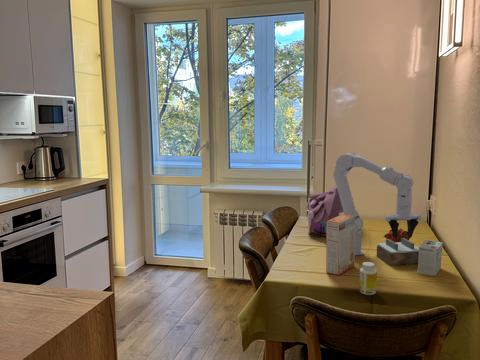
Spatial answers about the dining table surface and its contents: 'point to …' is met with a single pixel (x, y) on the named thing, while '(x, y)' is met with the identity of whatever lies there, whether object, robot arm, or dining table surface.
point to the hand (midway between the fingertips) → (402, 237)
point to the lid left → (391, 247)
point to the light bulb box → (430, 257)
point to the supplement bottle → (368, 278)
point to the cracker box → (340, 244)
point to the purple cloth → (323, 210)
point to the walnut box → (397, 257)
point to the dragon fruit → (400, 235)
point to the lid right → (407, 245)
